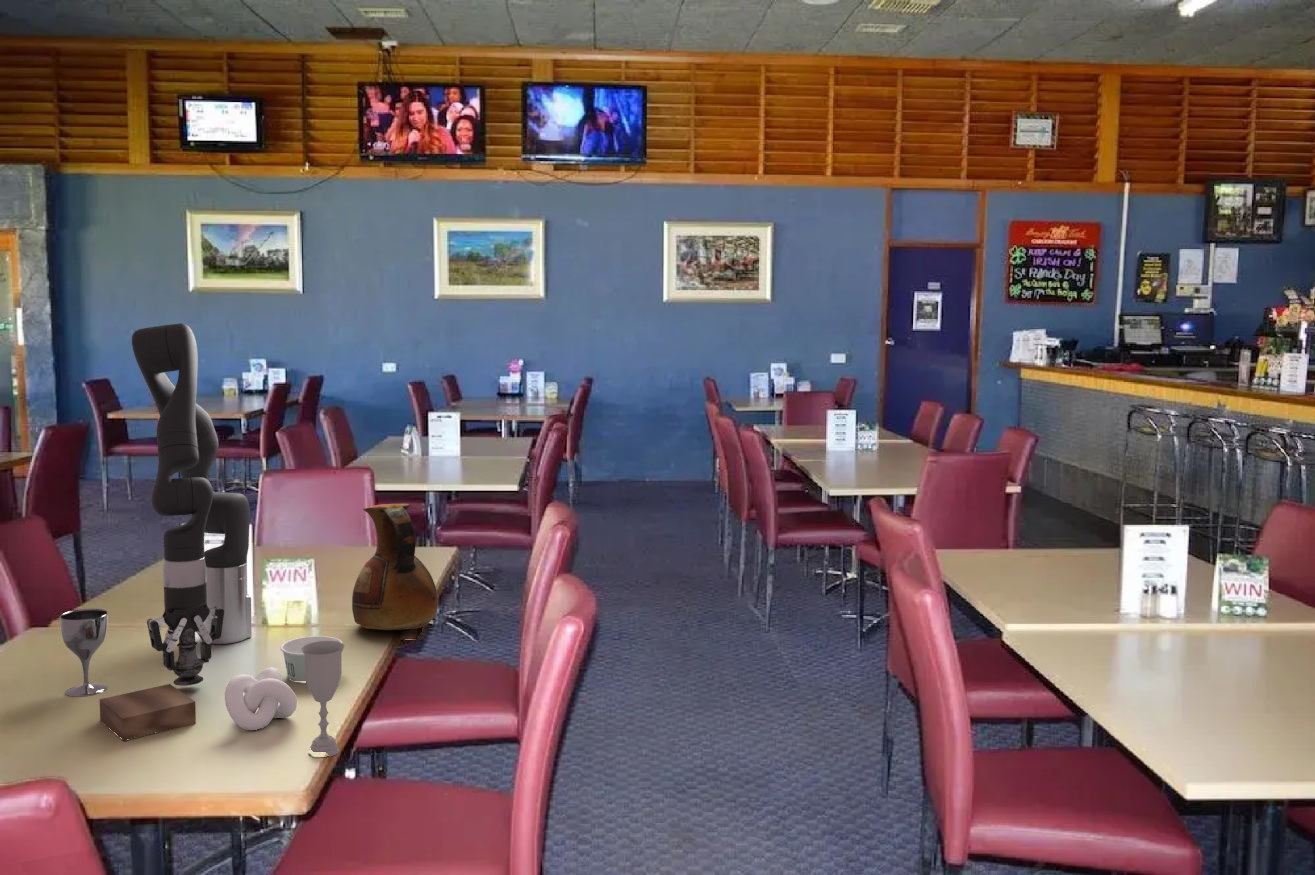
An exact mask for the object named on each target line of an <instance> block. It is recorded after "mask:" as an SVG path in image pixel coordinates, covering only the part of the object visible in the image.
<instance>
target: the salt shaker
mask: <svg viewBox="0 0 1315 875" xmlns="http://www.w3.org/2000/svg"><path fill="white" fill-rule="evenodd" d="M197 645H198V642H197V641H196V632H194V630H193V629H191V628H190V629H187V630H186V631H185V632H184V634H182V635H180V637H179V639H178V643H176V646H177V647H178V659H177V660H174V664H175V669H174V670H172V671H173V673H174V675H176V676H177V678H175V679H174V680H173V682H172V683H173V684H174V685H175V686H179V687H180V686H182V687H183V686H186V687H187V686H193V685H197V684H200V683H201V682H203V680H204V677H203V676H201V675H199V674H200V673H201V672H202V670H203V665H204V664H205V663H204V660H203V659H201V657H200V658H199V657H198V656H197Z"/></svg>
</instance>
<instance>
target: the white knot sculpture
mask: <svg viewBox="0 0 1315 875" xmlns="http://www.w3.org/2000/svg"><path fill="white" fill-rule="evenodd" d="M282 680H283V678H282V674H281V672H280V670H279V669H278V668H276V667H272V666H270V667H267V668H264V669H262V670H261V671H260V672H258V674H257V676H255V677H254V676H252V675H249V674H245V673H244V674H243V673H242V674H237V675H236V676H233V677H232V678H230V680H229V681H228V683H227V685H226V688H225V691H224V703H225V707H226V711H227V712H228V715H229V716H230V718H231V719H232V721H233V722H234V723H235V724H236V725H237V726H238V727H240V728H241V729H242V730H245V731H248V730H256V731H258V730H257V729H260V728H262V729H263V728H266V727H267V726H268V724H270V723H271V721H272V720H273V719H276V718H284V719H286V717H287V718H289V717H291V716H292V715H293V714H294V712H295V711H296V710H297V706H298V704H297V703H298V698H297V695H296V693H295V692H294V691H293V689H292V687H290V685H288V684H287V683H286V682H284V681H282ZM260 730H261V729H260Z"/></svg>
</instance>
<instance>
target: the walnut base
mask: <svg viewBox="0 0 1315 875" xmlns="http://www.w3.org/2000/svg"><path fill="white" fill-rule="evenodd" d="M196 710H197V709H196V701H195V700H194V699H193V698H191V697H189V696H188V695H186V693H184V692H182V691H181V690H180V689H178V688H177V687H175V686H173V685H172V684H171V683H169V684H163V685H159V686H154V687H151V688H149V687H148V688H145V689H141V690H135V691H131V692H126V693H122V694H117V695H112V696H108V697H104V698H100V699H99V720H100V722H101V724H103V725H104V724H105V725H106V726H105V725H104V726H105V727H107V729H109V728H110V729H111V730H112V731H113V732H115V733H116V734H117V735H118V736H119V737H121V738H122V740H127V739H131V738H134V737H139V738H142V737H141V736H143V737H145V736H144V735H147V736H149V735H148V734H151V735H153V734H152V733H155V732H159V733H162V731H163V732H166V730H167V731H171V730H174V728H175V729H178V728H182V727H183V728H184V727H187V726H191V725H194V724H197V717H196V714H197V711H196ZM190 724H191V725H190ZM110 729H109V730H110ZM170 729H171V730H170ZM111 730H110V731H111ZM112 731H111V732H112ZM113 732H112V733H113ZM115 733H114V734H115ZM116 734H115V735H116ZM155 734H156V733H155ZM117 735H116V736H117ZM118 736H117V737H118ZM119 737H118V738H119ZM122 740H121V741H122ZM131 740H132V739H131ZM127 741H128V740H127Z"/></svg>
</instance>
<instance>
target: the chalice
mask: <svg viewBox="0 0 1315 875" xmlns="http://www.w3.org/2000/svg"><path fill="white" fill-rule="evenodd" d="M344 649H345V645H344V643H340V642H336V641H319V642H313V643H310V644H307V645H305V646H303V647H302V649H301V650H302V652H303V654H304V655H305V680H306V683H305V684H307V688H308V689H309V692H310V693H311V696H312V698H313V699H314V701H315V702H317V703H320V704H319V705H320V709H319V712H318V715H319V717H320V721H319V722H318V724H317V725H318V726H319V728H320V734H319V735H318V736H316V737H314V739H313V740H312V742H311V745H310V746H309V747H310V748H311V750H312V751H313V752H326V753H328V755H329V757H328V758H330V757H333V756H335V755H337V754H338V753H339V752H340V748H339V747H338V744H337V742H336V739H335V737H333V735H329V733H327V732H328V731H327V729H328V728H327V727H328V725H329V724H330V722H329V721H328V720H327V716H328V714H329V711H328V709H327V704H328V702H329V701H332V700H333V697H334V695H335V693H336V691H337V689H338V687H339V683H340V680H341V677H342V652H343V650H344Z"/></svg>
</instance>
